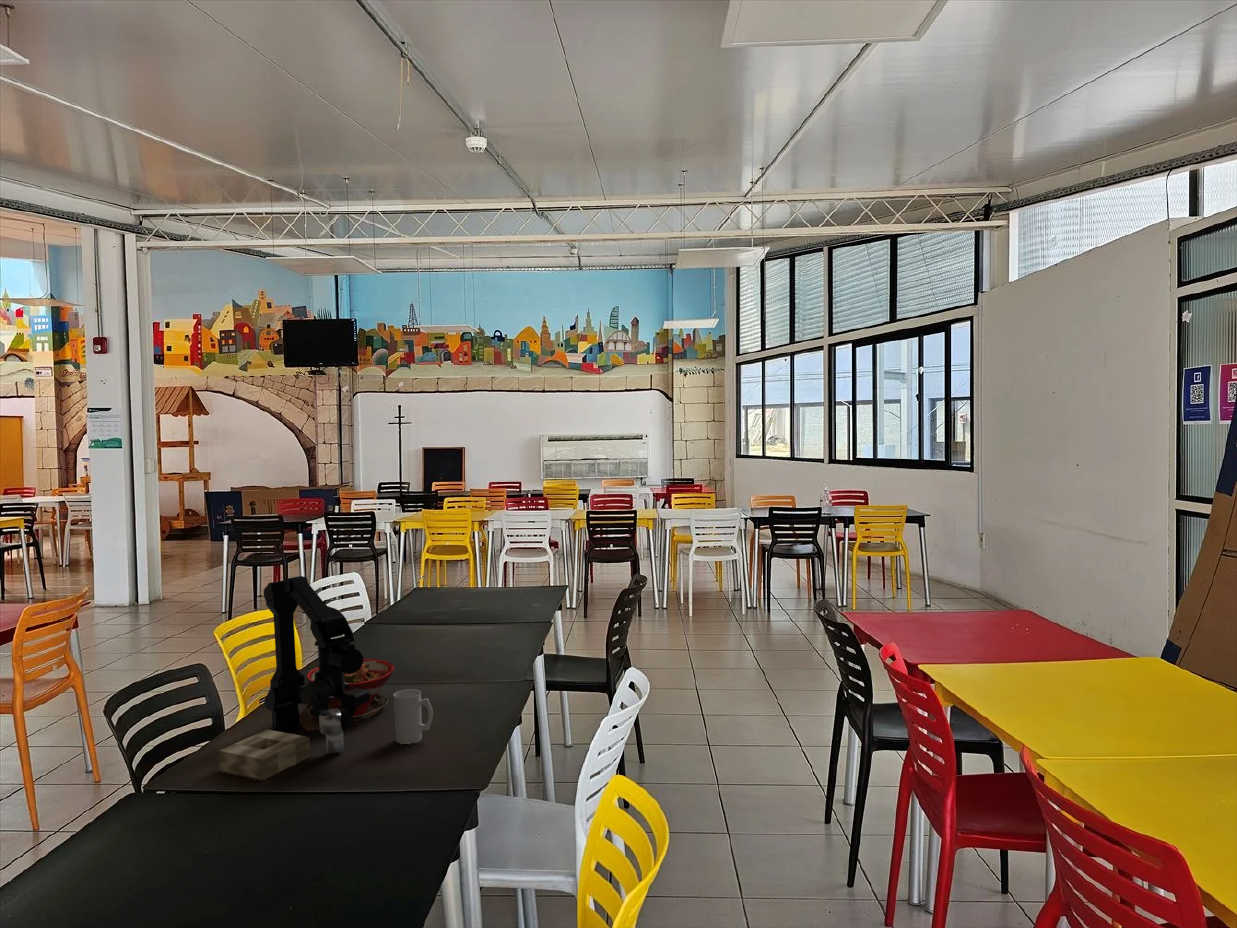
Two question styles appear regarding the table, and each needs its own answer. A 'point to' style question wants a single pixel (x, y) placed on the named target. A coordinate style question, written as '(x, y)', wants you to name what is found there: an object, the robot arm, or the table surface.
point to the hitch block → (264, 754)
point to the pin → (332, 729)
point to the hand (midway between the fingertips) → (334, 729)
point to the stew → (366, 677)
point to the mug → (410, 716)
